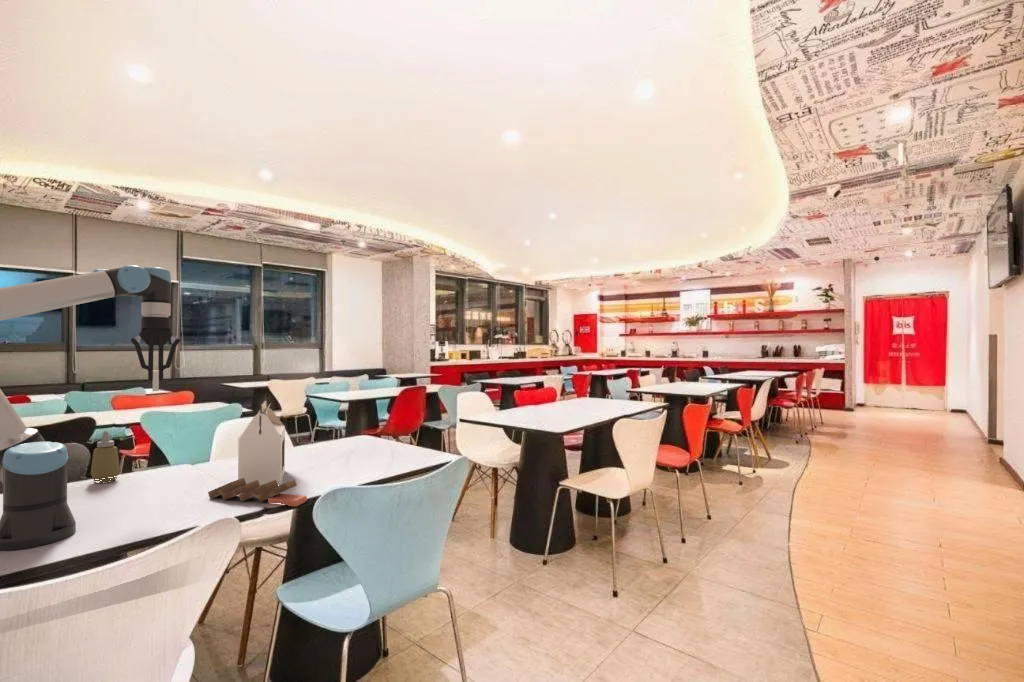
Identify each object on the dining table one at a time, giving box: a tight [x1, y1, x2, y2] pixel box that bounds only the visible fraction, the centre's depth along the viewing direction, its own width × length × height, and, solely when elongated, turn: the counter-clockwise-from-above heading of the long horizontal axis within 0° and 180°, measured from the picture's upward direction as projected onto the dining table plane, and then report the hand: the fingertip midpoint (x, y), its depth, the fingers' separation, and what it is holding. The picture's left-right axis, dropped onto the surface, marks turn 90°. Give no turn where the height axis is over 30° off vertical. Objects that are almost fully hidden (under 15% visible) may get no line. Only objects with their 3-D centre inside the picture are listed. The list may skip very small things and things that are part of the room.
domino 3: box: [238, 480, 278, 503], centre depth 154 cm, size 2×5×10 cm
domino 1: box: [207, 478, 246, 499], centre depth 156 cm, size 2×5×10 cm
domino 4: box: [256, 479, 297, 503], centre depth 153 cm, size 2×5×10 cm
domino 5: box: [267, 492, 308, 508], centre depth 152 cm, size 2×5×10 cm
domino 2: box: [221, 480, 260, 501], centre depth 155 cm, size 2×5×10 cm
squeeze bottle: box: [90, 430, 121, 484], centre depth 174 cm, size 8×8×18 cm
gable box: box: [237, 400, 286, 486], centre depth 177 cm, size 22×13×28 cm, turn 22°
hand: (155, 390), depth 155 cm, fingers closed
